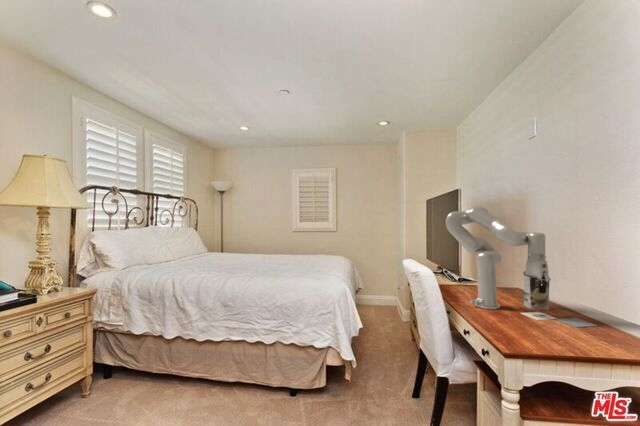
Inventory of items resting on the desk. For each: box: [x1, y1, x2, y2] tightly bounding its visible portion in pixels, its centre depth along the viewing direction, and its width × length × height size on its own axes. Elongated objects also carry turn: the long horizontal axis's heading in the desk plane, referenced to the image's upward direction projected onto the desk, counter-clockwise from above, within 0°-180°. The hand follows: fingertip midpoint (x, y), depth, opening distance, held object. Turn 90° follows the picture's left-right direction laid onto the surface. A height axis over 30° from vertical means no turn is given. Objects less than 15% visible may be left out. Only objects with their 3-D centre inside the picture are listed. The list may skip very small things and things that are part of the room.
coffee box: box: [523, 274, 550, 310], centre depth 159 cm, size 9×6×16 cm
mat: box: [555, 317, 599, 329], centre depth 147 cm, size 11×11×1 cm
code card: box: [520, 311, 558, 321], centre depth 158 cm, size 11×11×1 cm
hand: (536, 290), depth 159 cm, fingers closed on coffee box, 7 cm apart
